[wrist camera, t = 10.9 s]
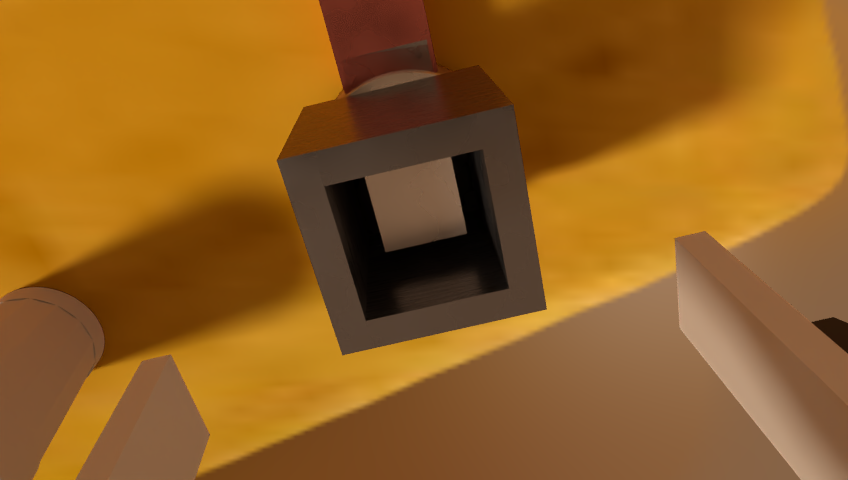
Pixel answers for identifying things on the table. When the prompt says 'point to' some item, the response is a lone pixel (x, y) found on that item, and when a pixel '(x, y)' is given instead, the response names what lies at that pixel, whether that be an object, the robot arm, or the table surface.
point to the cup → (40, 371)
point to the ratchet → (383, 67)
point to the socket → (430, 262)
